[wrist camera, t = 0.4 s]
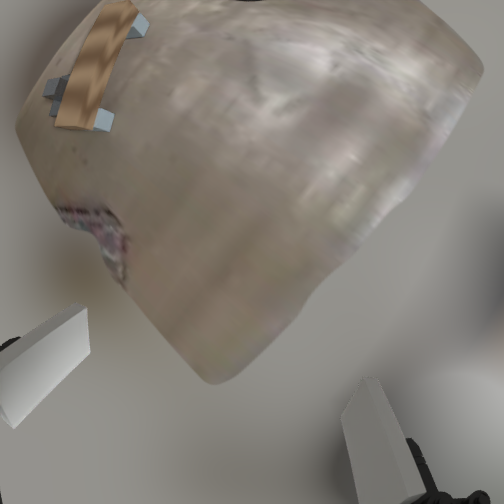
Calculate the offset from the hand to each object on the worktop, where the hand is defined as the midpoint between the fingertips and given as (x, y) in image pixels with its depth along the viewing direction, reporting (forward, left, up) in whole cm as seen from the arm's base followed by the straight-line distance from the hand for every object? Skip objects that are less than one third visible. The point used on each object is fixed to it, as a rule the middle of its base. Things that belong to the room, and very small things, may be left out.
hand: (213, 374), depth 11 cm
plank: (-23, -29, -23) cm, 44 cm away
